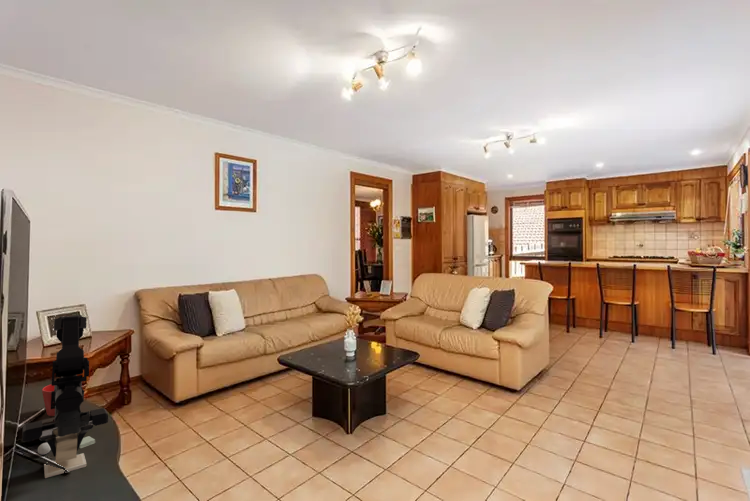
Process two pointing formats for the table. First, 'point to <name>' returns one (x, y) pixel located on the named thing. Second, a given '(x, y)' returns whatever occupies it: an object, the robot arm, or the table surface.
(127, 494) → the table surface
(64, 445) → the block
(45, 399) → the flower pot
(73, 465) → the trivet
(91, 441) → the tile
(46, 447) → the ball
